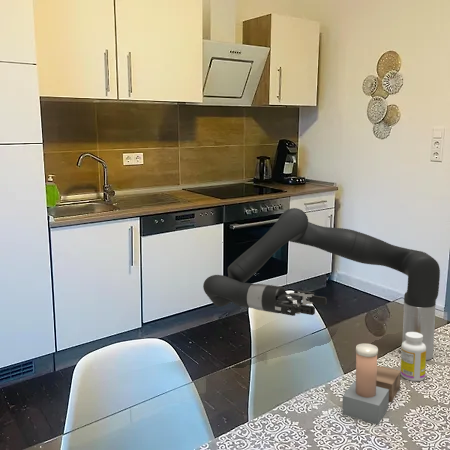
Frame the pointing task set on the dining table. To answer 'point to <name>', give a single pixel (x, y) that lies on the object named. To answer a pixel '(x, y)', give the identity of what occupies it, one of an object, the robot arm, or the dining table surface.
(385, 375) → the stand
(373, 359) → the canister
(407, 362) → the supplement bottle
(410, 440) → the dining table surface
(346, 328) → the dining table surface
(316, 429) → the dining table surface
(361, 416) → the stand
